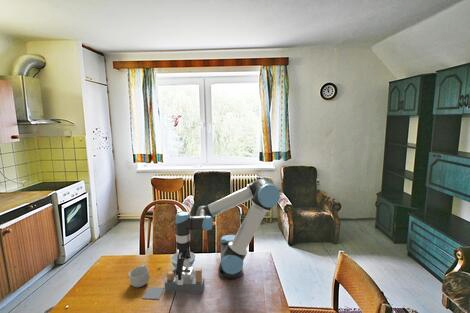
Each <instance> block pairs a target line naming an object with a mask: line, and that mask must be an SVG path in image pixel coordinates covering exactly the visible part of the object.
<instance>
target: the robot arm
mask: <svg viewBox="0 0 470 313" xmlns="http://www.w3.org/2000/svg"><path fill="white" fill-rule="evenodd" d="M280 193H281V192H280V190H279V187H278V186H277V185H276V184H275V183H274V182H273V181H272V180H271V179H269V178H267V177H265V178H259V179H256V180H254V181H252V182H250V183H248V184H247V185H246V187H244V188H241V189H239V190H237V191H234V192H233V193H230V194H229V195H227V196H224V197H222V198H220V199H218V200H216V201H214V202H211V203H210V204H207V205H200V206H199V207H198V208H197V210H196V212H195V213H196V214H195V215H191V214H190V213H189V212H188V211H180V212H177V213H176V214H175V223H174V225H175V234H174V236H175V248H176V250H178V252H179V255H177V268H175V269H176V270H175V273H176V275H177V279H178V285H183V273H182V270H183V264H184V267H189V258H191V256H190V252H191V249H190V247H191V231H204V232H205V231H211V230H212V228H213V218H214V217H216V216H218V215H220V214H222V213H224V212H226V211H229V210H230V209H233V208H235V207H237V206H240V205H242V204H245V203H246V202H249V201H251V204H252V205H251V206H250V207H249V210H248V212H247V213H246V215H245V217H244V219H243V220H242V222H241V224H240V226H239V228H238V230H237V233H236V234H226V235H223V236H221V238H220V261H219V266H218V270H217V273H218V275H219V277H220V278H222V279H225V280H236V279H238V278H240V277H242V275H243V274H244V272H243V271H244V270H243V267H244V259H245V258H246V256H247V255H248V251H247V248H248V247H249V244H250V243H251V241H252V239H253V238H254V235H255V234H256V232H257V230H258V228H259V226H260V225H261V222H263V221H262V220H263V219H264V217H265V216H266V214H267V212H271V210H272V208H273V207H275V206H276V205H278V203H279V202H280V199H281V194H280ZM185 258H186V259H185Z"/></svg>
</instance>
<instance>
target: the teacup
mask: <svg viewBox="0 0 470 313" xmlns="http://www.w3.org/2000/svg"><path fill="white" fill-rule="evenodd" d="M149 270H150V269H149V267H147V266H146V264H142V265H140V266H136V267H134V268H132V269H131V270H130V271H129V272H128V278H129V284H130V285H131V286H132V287H134V288H142V287H144V286H145V285H146V284H147V283H148V282H149V280H150V271H149Z"/></svg>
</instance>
